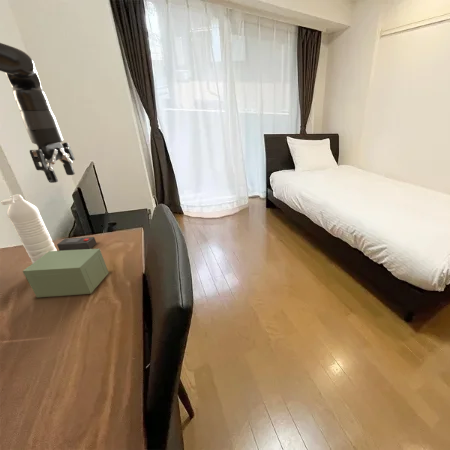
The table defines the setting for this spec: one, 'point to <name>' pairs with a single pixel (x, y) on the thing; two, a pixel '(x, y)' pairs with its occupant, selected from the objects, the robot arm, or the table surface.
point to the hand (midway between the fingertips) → (62, 178)
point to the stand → (66, 272)
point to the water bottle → (29, 227)
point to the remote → (76, 243)
